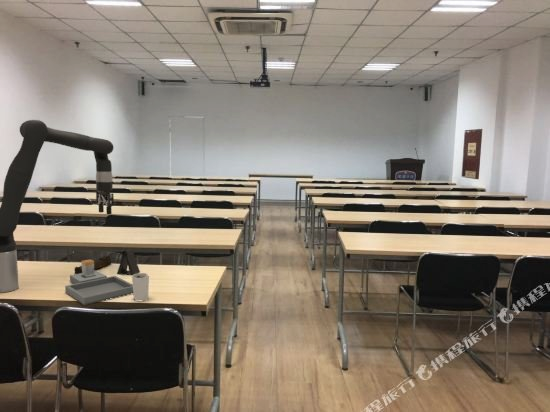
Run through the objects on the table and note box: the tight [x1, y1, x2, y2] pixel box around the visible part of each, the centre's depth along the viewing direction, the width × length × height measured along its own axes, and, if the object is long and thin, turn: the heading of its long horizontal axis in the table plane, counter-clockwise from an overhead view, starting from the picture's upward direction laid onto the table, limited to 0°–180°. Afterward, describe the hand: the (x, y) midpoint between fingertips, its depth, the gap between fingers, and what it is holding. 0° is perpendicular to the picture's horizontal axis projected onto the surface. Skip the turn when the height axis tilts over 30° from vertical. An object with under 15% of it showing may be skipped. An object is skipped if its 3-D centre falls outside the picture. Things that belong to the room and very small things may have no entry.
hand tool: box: [74, 255, 112, 274], centre depth 218 cm, size 23×5×6 cm, turn 157°
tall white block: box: [81, 259, 95, 278], centre depth 198 cm, size 4×4×10 cm
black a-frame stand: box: [116, 248, 141, 277], centre depth 213 cm, size 9×6×12 cm, turn 78°
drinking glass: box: [131, 272, 150, 301], centre depth 178 cm, size 7×7×10 cm
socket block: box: [69, 270, 108, 284], centre depth 199 cm, size 12×12×3 cm
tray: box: [64, 275, 133, 306], centre depth 185 cm, size 22×20×3 cm
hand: (105, 213), depth 215 cm, fingers open, 8 cm apart
